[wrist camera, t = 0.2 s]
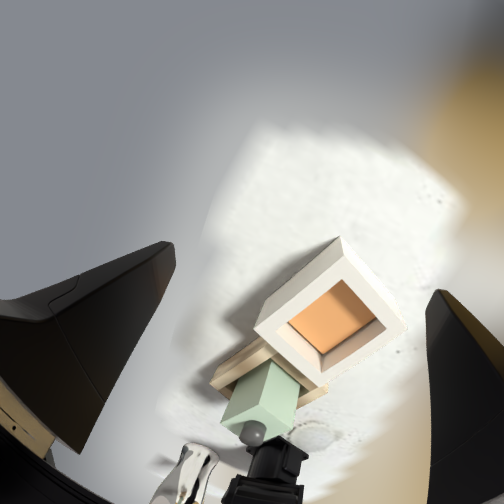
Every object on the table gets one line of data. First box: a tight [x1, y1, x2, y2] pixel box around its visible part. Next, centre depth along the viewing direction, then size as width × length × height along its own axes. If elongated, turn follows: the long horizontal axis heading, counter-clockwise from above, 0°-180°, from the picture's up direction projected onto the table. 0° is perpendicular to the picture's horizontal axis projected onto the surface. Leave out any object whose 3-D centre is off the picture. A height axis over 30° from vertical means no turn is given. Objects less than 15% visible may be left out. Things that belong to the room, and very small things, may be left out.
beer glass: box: [149, 443, 219, 504], centre depth 32 cm, size 7×7×15 cm
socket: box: [253, 236, 407, 388], centre depth 23 cm, size 9×8×5 cm
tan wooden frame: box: [209, 336, 328, 409], centre depth 28 cm, size 9×8×3 cm
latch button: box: [288, 279, 376, 354], centre depth 23 cm, size 6×5×1 cm
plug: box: [220, 358, 300, 446], centre depth 25 cm, size 5×4×10 cm
